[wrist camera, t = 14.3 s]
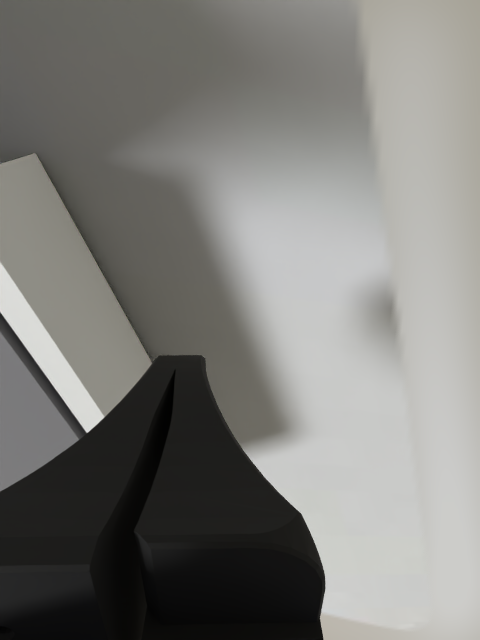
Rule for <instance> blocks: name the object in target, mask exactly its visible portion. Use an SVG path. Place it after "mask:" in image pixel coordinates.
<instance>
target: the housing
mask: <svg viewBox="0 0 480 640" xmlns="http://www.w3.org/2000/svg"><path fill="white" fill-rule="evenodd" d="M85 434H87V432H86V431H85V430H84V428H83V427H82V425H81V424H80V423H79V421H78V420H77V419H76V417H75V416H74V414H73V413H72V412H71V410H70V409H69V407H68V406H67V405H66V403H65V402H64V400H63V399H62V398H61V396H60V395H59V393H58V392H57V391H56V389H55V388H54V386H53V385H52V384H51V382H50V381H49V379H48V378H47V377H46V375H45V374H44V372H43V371H42V370H41V368H40V367H39V365H38V364H37V363H36V361H35V360H34V358H33V357H32V356H31V354H30V353H29V351H28V350H27V349H26V347H25V346H24V344H23V343H22V342H21V340H20V339H19V337H18V336H17V335H16V333H15V332H14V330H13V329H12V328H11V326H10V325H9V323H8V322H7V321H6V319H5V318H4V316H3V315H2V314H1V312H0V491H2V490H4V489H6V488H7V487H9V486H11V485H12V484H14V483H16V482H18V481H19V480H21V479H23V478H24V477H26V476H28V475H29V474H31V473H32V472H34V471H36V470H37V469H39V468H40V467H42V466H43V465H45V464H46V463H48V462H49V461H51V460H52V459H53V458H55V457H56V456H58V455H59V454H60V453H62V452H63V451H65V450H66V449H67V448H69V447H70V446H72V445H73V444H74V443H76V442H77V441H78V440H79V439H81V438H82V437H83V436H84V435H85Z"/></svg>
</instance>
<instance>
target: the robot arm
mask: <svg viewBox="0 0 480 640" xmlns="http://www.w3.org/2000/svg"><path fill="white" fill-rule="evenodd" d="M324 593H325V574H324V570H323V566H322V563H321V560H320V556H319V553H318V551H317V548H316V545H315V543H314V540H313V538H312V536H311V533H310V531H309V529H308V527H307V525H306V523H305V521H304V519H303V517H302V514H301V513H300V512H299V511H298V510H296V509H295V508H294V507H293V506H292V505H291V504H290V503H289V502H288V501H287V500H286V499H285V498H284V497H283V496H282V495H281V494H280V493H279V492H278V491H277V490H276V489H275V488H274V487H273V486H272V485H271V484H270V483H269V482H268V481H267V480H266V478H265V477H264V476H263V475H262V474H261V472H260V471H259V470H258V469H257V467H256V466H255V465H254V464H253V462H252V461H251V460H250V459H249V458H248V456H247V455H246V454H245V452H244V451H243V449H242V448H241V446H240V445H239V443H238V442H237V440H236V439H235V437H234V436H233V434H232V432H231V431H230V429H229V427H228V425H227V424H226V422H225V420H224V418H223V416H222V414H221V412H220V410H219V408H218V405H217V403H216V401H215V398H214V396H213V393H212V391H211V388H210V385H209V382H208V378H207V374H206V365H205V358H204V357H203V356H201V355H179V356H158V357H157V358H156V359H155V360H154V362H153V363H152V364H151V366H150V367H149V368H148V369H147V371H146V372H145V373H144V374H143V376H142V377H141V378H140V379H139V381H138V382H137V383H136V384H135V385H134V386H133V388H132V389H131V390H130V391H129V392H128V393H127V394H126V396H125V397H124V398H123V399H122V400H121V401H120V402H119V403H118V404H117V405H116V406H115V407H114V408H113V409H112V410H111V411H110V412H109V413H108V414H107V415H106V416H105V417H104V418H103V419H102V420H101V421H100V422H99V423H98V424H97V425H96V426H95V427H93V428H92V429H91V430H90V431H89V432H88V433H87V434H85V435H84V436H83V437H82V438H81V439H79V440H78V441H77V442H76V443H74V444H73V445H72V446H70V447H69V448H67V449H66V450H65V451H63V452H62V453H60V454H59V455H58V456H56V457H55V458H53V459H52V460H51V461H49V462H48V463H46V464H45V465H43V466H42V467H40V468H39V469H37V470H36V471H34V472H32V473H31V474H29V475H28V476H26V477H24V478H23V479H21V480H19V481H18V482H16V483H14V484H12V485H11V486H9V487H7V488H6V489H4V490H2V491H0V640H323V634H322V628H321V622H320V614H321V609H322V603H323V598H324Z"/></svg>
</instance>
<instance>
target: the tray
mask: <svg viewBox="0 0 480 640" xmlns="http://www.w3.org/2000/svg"><path fill="white" fill-rule="evenodd" d="M0 312H1V314H2V315H3V316H4V318H5V319H6V321H7V322H8V323H9V325H10V326H11V328H12V329H13V330H14V332H15V333H16V335H17V336H18V337H19V339H20V340H21V342H22V343H23V344H24V346H25V347H26V349H27V350H28V351H29V353H30V354H31V356H32V357H33V358H34V360H35V361H36V363H37V364H38V365H39V367H40V368H41V370H42V371H43V372H44V374H45V375H46V377H47V378H48V379H49V381H50V382H51V384H52V385H53V386H54V388H55V389H56V391H57V392H58V393H59V395H60V396H61V398H62V399H63V400H64V402H65V403H66V405H67V406H68V407H69V409H70V410H71V412H72V413H73V414H74V416H75V417H76V419H77V420H78V421H79V423H80V424H81V425H82V427H83V428H84V430H85V431H86V432H87V433H88V432H89V431H90V430H91V429H92V428H93V427H95V426H96V425H97V424H98V423H99V422H100V421H101V420H102V419H103V418H104V417H105V416H106V415H107V414H108V413H109V412H110V411H111V410H112V409H113V408H114V407H115V406H116V405H117V404H118V403H119V402H120V401H121V400H122V399H123V398H124V397H125V396H126V394H127V393H128V392H129V391H130V390H131V389H132V388H133V386H134V385H135V384H136V383H137V382H138V381H139V379H140V378H141V377H142V376H143V374H144V373H145V372H146V371H147V369H148V368H149V367H150V366H151V364H152V362H151V360H150V358H149V357H148V355H147V353H146V351H145V349H144V348H143V346H142V344H141V342H140V340H139V339H138V337H137V335H136V333H135V331H134V330H133V328H132V326H131V324H130V322H129V321H128V319H127V317H126V315H125V313H124V312H123V310H122V308H121V306H120V304H119V303H118V301H117V299H116V297H115V295H114V294H113V292H112V290H111V288H110V286H109V285H108V283H107V281H106V279H105V277H104V276H103V274H102V272H101V270H100V268H99V267H98V265H97V263H96V261H95V259H94V258H93V256H92V254H91V252H90V250H89V249H88V247H87V245H86V243H85V241H84V240H83V238H82V236H81V234H80V232H79V231H78V229H77V227H76V225H75V223H74V222H73V220H72V218H71V216H70V214H69V213H68V211H67V209H66V207H65V205H64V204H63V202H62V200H61V198H60V196H59V195H58V193H57V191H56V189H55V187H54V186H53V184H52V182H51V180H50V178H49V177H48V175H47V173H46V171H45V169H44V168H43V166H42V164H41V162H40V160H39V159H38V157H37V155H36V153H34V154H31V155H27V156H24V157H21V158H18V159H14V160H11V161H8V162H5V163H1V164H0Z"/></svg>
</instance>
